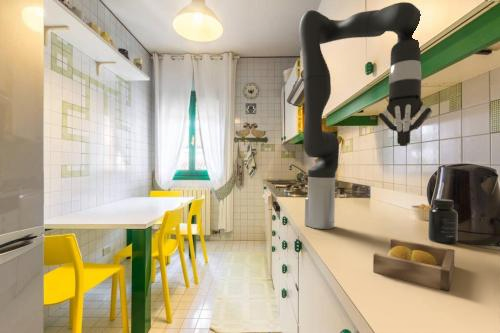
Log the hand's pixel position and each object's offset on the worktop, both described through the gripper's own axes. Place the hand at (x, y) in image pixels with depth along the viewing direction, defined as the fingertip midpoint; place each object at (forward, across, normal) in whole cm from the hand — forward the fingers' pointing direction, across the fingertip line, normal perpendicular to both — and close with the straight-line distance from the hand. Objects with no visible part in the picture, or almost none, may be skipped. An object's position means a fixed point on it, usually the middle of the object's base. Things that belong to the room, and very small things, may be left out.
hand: (403, 145), depth 71 cm
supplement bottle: (+27, -8, -13) cm, 31 cm away
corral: (+27, -5, +17) cm, 32 cm away
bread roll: (+28, -4, +15) cm, 32 cm away
